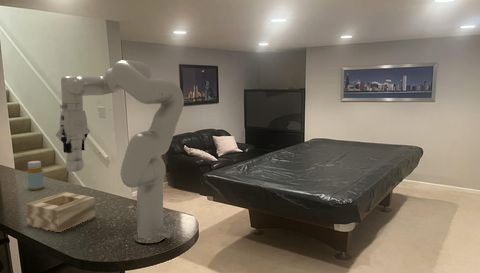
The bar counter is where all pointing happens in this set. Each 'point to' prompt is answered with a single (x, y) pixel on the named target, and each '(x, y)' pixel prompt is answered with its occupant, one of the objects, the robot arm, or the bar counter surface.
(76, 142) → the plastic bottle
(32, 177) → the bottle
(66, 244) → the bar counter surface
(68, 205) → the well block
